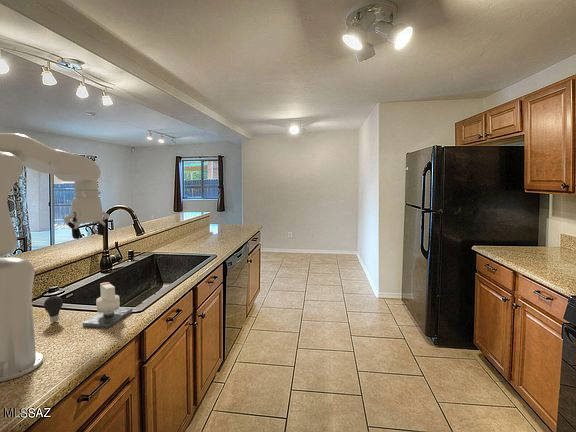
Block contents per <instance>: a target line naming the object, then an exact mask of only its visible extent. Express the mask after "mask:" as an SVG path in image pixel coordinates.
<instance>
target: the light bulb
mask: <svg viewBox="0 0 576 432" xmlns="http://www.w3.org/2000/svg"><path fill="white" fill-rule="evenodd" d="M63 304H64V301H63V298H61V297H60V296H58V295H52V296H49V297H48V298H46V299H45V301H44V302H43V309H44V310H45V311H46V312H47V313H48V316H49V320H50V322H51V323H56V322H57V321H59V317H60V316H59V314H60V311H61V309H62V307H63Z"/></svg>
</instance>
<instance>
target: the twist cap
mask: <svg viewBox="0 0 576 432" xmlns="http://www.w3.org/2000/svg"><path fill="white" fill-rule="evenodd" d="M99 290H100V297H98V298H96V301H95V303H96V305H95V306H96V312H98V313H100V312H102V313H103V312H111V311H114V310H117V309H118V308H121V307H120V306H121V305H120V304H121V303H120V295H118V294H116V286H114V285H113V284H111V283H110V282H109V281H106V282H101V283H99Z"/></svg>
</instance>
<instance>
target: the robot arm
mask: <svg viewBox="0 0 576 432" xmlns="http://www.w3.org/2000/svg"><path fill="white" fill-rule="evenodd" d="M23 167H25V168H28V169H31V170H34V171H36V172H39V173H44V174H49V175H50V174H51V175H54V176H55V177H56V178H57V179H58V180H60V181H63V182H70V183H71V182H72V183H73V182H74V190H75V191H74V193H75V194H74V195H75V197H73V198H72V202H71V212H70V214H68V215H67V216H65V217H63V221H64V222H65V224H66V225H67V226H68V227H69V228H70V229H71V235H72V238H73V239H75V240H79V239H80V237H81V235H80V229H79V226H80V225H81V224H90V223H97V224H98V225H97V229H96V230H97V235H98V236H104V235H105V226H106V224H107V223H108V220H109V218H110V214H109V213H107V212H105V211H103V206H102V202H101V199H100V197H99V195H101V191H99V190H98V189H99V188H98V179H100V177H101V167H100V166H99V164H97V163H96V162H95V161H94V160H93V159H90V158H88V157H86V156H84V155H79V154H76V153H72V152H68V151H64V150H62V149H61V150H60V149H57V148H53V147H50V146H49V145H46V144H44V143H42V142H40V141H38V140H36V139H34V138H31V137H30V136H27V135H25V134H22V133H15V132H0V382H6V381H11V380H14V379H17V378H20V377H22V376H24V375H26V374H29V373H31V372H33V371H34V370H36V369H37V368H38V367H40V365H42V363H43V361H44V356H43V354H42V353H40V352H36V351H37V350H36V341H35V340H36V338H35V329H34V327H35V326H34V325H35V324H34V314H33V313H34V312H33V287H34V280H35V274H36V273H35V272H36V271H35V267H34V264H32V263H31V262H30V261H29V260H27V259H25V258H24V259H23V258H19V257H5V256H9V255H10V254H13V253H14V252H15V251H16V249H17V247H18V239H17V238H18V236H17V232H16V229H15V227H14V224H13V219H12V216H11V213H10V210H9V205H8V198H9V196H10V195H9V194H10V193H11V190H12V189H13V187H14V185H15V184H16V183H17V181H19V179H20V177H21V175H22V172H23Z"/></svg>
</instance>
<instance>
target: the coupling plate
mask: <svg viewBox="0 0 576 432" xmlns="http://www.w3.org/2000/svg"><path fill="white" fill-rule="evenodd" d="M132 313H133V308H130V307H129V308H128V307H119V308H118V309H117V310H114V311H111V312H103V313H102V312H98V313H97V314H94V315H93V316H91V317H90V318H88V319H87V320H85V321H83V322H82V327H83V328H96V329H110V328H111V327H113V326H114V325H116V324H117V323H119V322H120V321H122V320H123V319H125V318H126V317H127V316H129V315H130V314H132Z"/></svg>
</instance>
